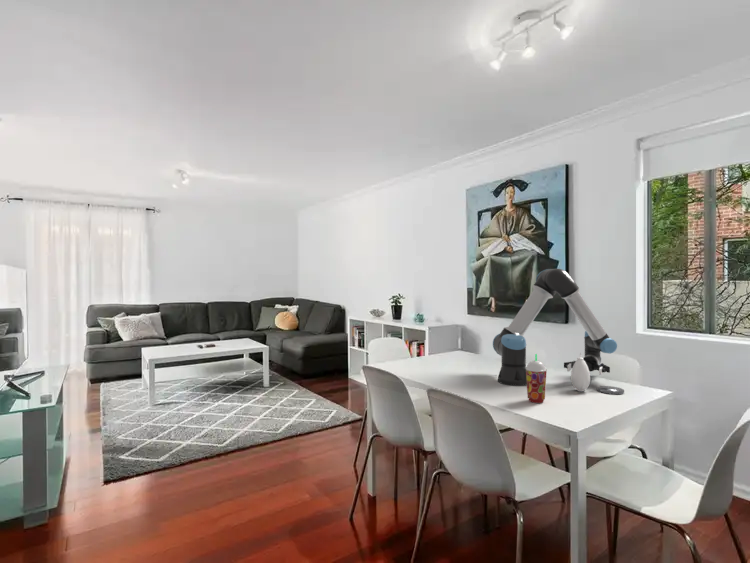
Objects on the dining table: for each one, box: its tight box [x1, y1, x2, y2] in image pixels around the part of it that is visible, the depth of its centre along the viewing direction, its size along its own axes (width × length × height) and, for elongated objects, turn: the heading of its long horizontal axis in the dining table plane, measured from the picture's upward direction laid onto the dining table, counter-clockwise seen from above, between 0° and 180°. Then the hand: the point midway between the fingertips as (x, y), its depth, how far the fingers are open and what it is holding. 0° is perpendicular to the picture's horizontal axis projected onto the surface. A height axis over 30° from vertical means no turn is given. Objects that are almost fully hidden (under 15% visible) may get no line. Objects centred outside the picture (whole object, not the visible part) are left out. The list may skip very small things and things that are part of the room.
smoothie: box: [526, 353, 547, 404], centre depth 180 cm, size 8×8×20 cm
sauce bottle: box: [570, 352, 591, 392], centre depth 197 cm, size 8×8×18 cm
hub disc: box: [596, 385, 625, 396], centre depth 197 cm, size 11×11×1 cm
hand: (583, 370), depth 201 cm, fingers open, 13 cm apart
